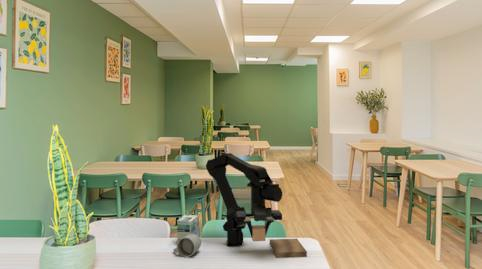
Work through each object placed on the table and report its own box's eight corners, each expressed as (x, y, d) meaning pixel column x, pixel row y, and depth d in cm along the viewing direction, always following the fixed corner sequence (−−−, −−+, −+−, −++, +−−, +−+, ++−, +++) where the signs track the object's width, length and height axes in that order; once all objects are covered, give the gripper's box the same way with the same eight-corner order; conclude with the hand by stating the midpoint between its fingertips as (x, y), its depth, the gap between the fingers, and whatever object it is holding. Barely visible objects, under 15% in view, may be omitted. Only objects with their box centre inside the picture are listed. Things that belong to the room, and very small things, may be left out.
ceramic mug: (202, 250, 150) (202, 232, 149) (194, 257, 142) (194, 238, 142) (178, 249, 152) (178, 230, 152) (169, 256, 145) (169, 236, 144)
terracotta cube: (252, 241, 146) (252, 228, 146) (251, 237, 151) (251, 225, 151) (265, 240, 146) (265, 228, 146) (263, 237, 151) (263, 225, 151)
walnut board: (276, 257, 141) (276, 252, 141) (269, 244, 157) (269, 239, 157) (306, 256, 142) (306, 251, 142) (296, 243, 158) (296, 238, 158)
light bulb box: (191, 246, 155) (191, 221, 155) (176, 245, 157) (176, 220, 156) (199, 238, 166) (199, 214, 166) (185, 237, 167) (185, 214, 167)
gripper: (236, 203, 139) (236, 243, 140) (284, 202, 141) (285, 242, 141) (234, 197, 150) (234, 235, 151) (279, 196, 152) (279, 233, 152)
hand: (258, 236), depth 149 cm, fingers closed on terracotta cube, 5 cm apart
